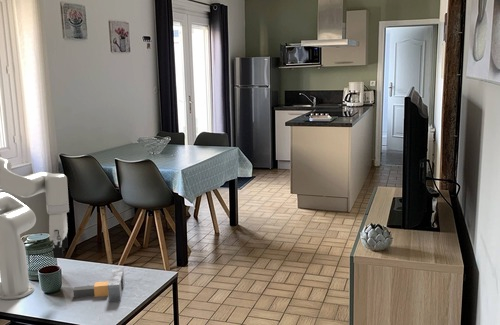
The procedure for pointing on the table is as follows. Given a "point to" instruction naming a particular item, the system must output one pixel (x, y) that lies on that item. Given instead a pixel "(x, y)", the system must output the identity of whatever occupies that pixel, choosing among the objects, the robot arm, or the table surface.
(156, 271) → the table surface
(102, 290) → the cable plug
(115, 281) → the grey notched block
